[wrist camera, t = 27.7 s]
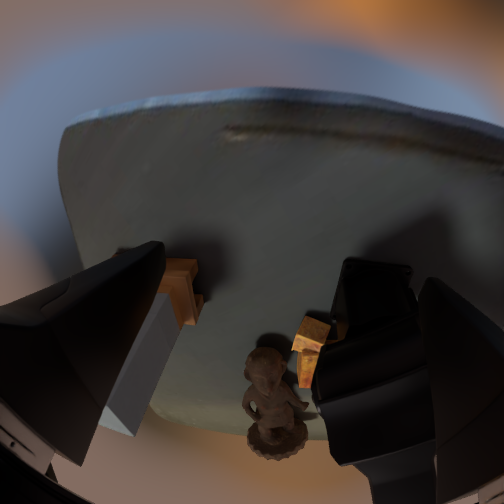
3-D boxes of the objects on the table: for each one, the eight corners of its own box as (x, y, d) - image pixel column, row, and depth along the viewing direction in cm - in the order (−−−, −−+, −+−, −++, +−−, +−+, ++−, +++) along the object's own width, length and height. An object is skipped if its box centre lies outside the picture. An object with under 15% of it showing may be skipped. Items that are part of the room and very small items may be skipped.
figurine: (256, 468, 32) (227, 377, 25) (243, 430, 39) (214, 332, 31) (316, 449, 33) (318, 350, 26) (297, 414, 40) (289, 312, 33)
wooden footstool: (196, 258, 26) (185, 277, 23) (204, 304, 28) (195, 325, 26) (113, 253, 27) (98, 269, 24) (127, 295, 30) (115, 313, 27)
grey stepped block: (173, 285, 24) (107, 406, 14) (184, 323, 26) (135, 437, 16) (99, 280, 25) (28, 373, 15) (114, 314, 27) (56, 406, 17)
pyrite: (341, 311, 28) (350, 326, 24) (334, 368, 29) (341, 389, 25) (291, 311, 28) (294, 327, 24) (288, 368, 29) (289, 390, 25)
